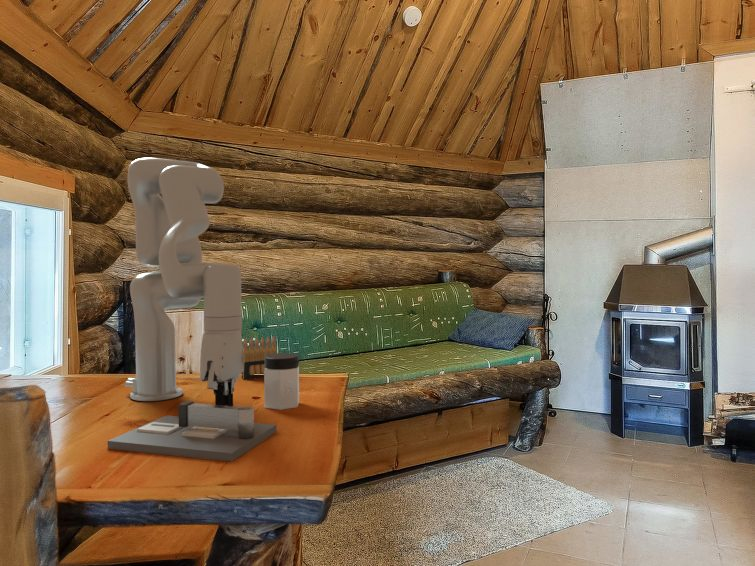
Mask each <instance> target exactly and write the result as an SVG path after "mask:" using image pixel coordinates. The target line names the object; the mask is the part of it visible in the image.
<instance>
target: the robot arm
mask: <svg viewBox="0 0 755 566" xmlns="http://www.w3.org/2000/svg"><path fill="white" fill-rule="evenodd" d="M127 170H128V171H127V179H126V180H127V187H128V193H129V195H130V198H131V201H132V204H133V208H134V216H135V218H134V219H135V221H134V222H135V223H134V224H135V227H134V228H135V252H136V258H137V259H136V260H137V261H138V263H139V264H140V265H142V266H145V267H152V268H156V267H157V268H159V270H160V271H153V272H152V271H151V272H144V273H139V274H137V275H136V276H134V277H133V278H132V280H131V282H130V285H129V292H130V298H131V304H132V308H133V309H132V310H133V317H134V335H135V338H134V339H135V340H134V341H135V377H128V378H127V380H126V381H125V382H124V386H125V387H130V388H132V391H131V392H130V393H129V398H130V399H132V400H134V401H139V402H158V401H166V400H171V399H174V398H175V399H176V398H177V397H180V396H182V394H183V389H182V387H179V386H177V379H176V378H177V375H176V374H177V369H176V367H177V366H176V328H175V323H174V321H173V320H172V319H171V318H170V317H169V316H168V314H167V313H166V312H165V311H166V310H172V309H173V310H174V309H175V310H176V309H184V308H185V309H188V308H193V307H196V306H197V305H198V304H199V303H200V302H201V299H203V334H202V339H201V348H200V361H199V363H200V364H199V378H200V381H201V382H207V389H208V390H213V395H214V402H215V404H214V405H224V406H234V392H235V385H236V382H237V381H238V380H239V379H240V375H242V372H243V345H244V344H243V337H242V336H243V335H242V330H243V328H242V327H243V323H242V319H243V316H242V315H243V314H242V313H243V312H242V309H243V308H242V270H241V268H240V266H238V265H237V264H227V263H226V264H225V263H223V262H203V255H202V254H203V252H202V245H201V240H200V239H199V236H200V235H202V234H203V233H205V232H206V231H207V230H208V228H209V226H210V223H211V221H210V216H209V214H208V209H207V207H206V204H209V205H210V204H217V203H219V202H220V201H221V200H222V199H223V196H224V192H225V191H224V190H225V188H224V187H225V186H224V181H223V179H222V176H221V174H220V173H219V171H218V170H216V169H215V168H213V167H211V166H207V165H205V164H202V163H199V162H195V161H189V160H188V161H186V160H178V159H170V158H160V157H158V158H157V157H141V158H137V159H135V160H133V161H132V162H131V163H130V164H129V166H128V169H127Z"/></svg>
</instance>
